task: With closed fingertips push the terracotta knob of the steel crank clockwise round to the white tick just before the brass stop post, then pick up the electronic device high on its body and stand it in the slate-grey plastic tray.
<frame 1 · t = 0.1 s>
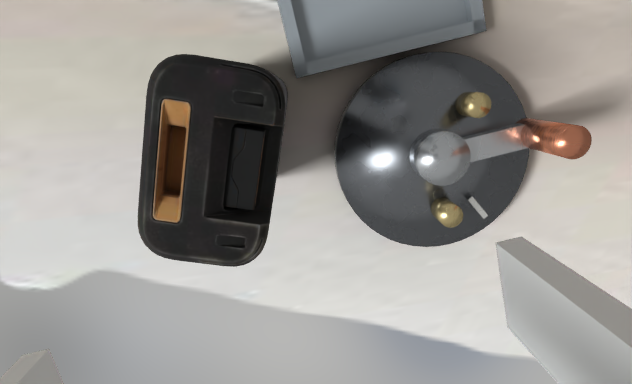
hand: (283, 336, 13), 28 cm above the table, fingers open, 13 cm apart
electronic device: (249, 126, 39), on the table
crank: (491, 150, 35), point 5 cm above the table, hinge at 90.0°
crank base: (428, 151, 41), on the table
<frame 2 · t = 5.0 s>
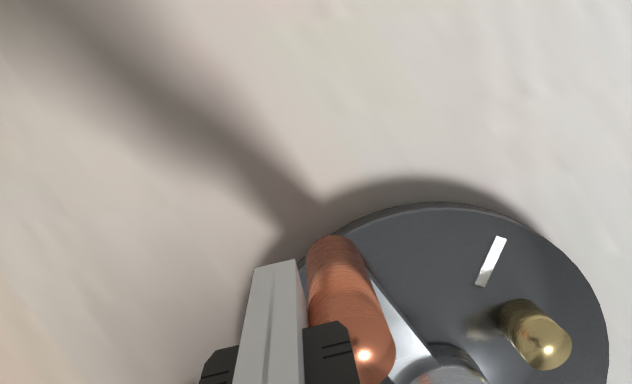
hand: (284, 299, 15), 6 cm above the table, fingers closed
crank: (412, 383, 17), point 5 cm above the table, hinge at 84.8°, touching gripper
crank base: (424, 363, 23), on the table
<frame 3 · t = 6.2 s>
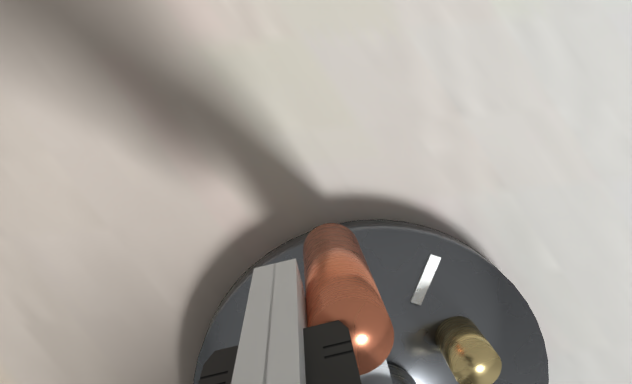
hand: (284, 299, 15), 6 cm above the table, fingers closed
crank base: (368, 380, 23), on the table
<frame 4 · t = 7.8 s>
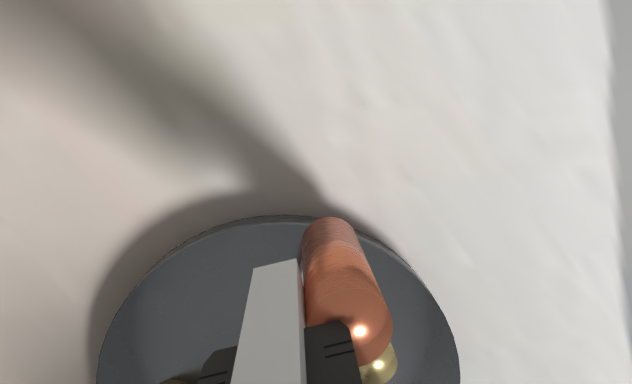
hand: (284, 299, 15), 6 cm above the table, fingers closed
crank base: (282, 377, 23), on the table
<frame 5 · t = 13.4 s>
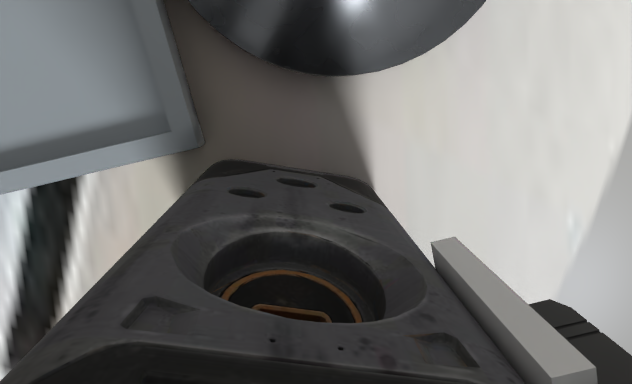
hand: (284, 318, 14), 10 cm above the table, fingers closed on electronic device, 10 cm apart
electronic device: (286, 220, 24), on the table, touching gripper
tray: (8, 10, 21), on the table
when the fingers open (12 cm above the table, at t = 21.4 s): electronic device stays where it is, resting on tray.
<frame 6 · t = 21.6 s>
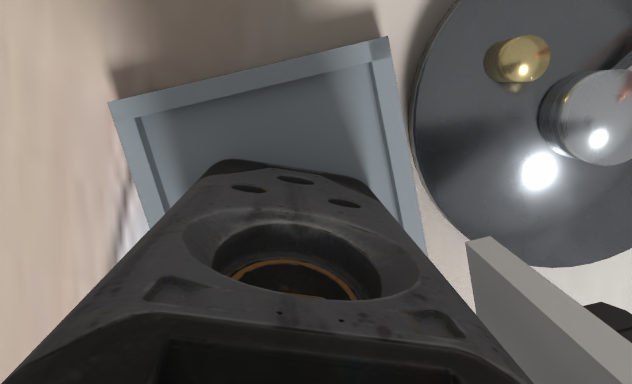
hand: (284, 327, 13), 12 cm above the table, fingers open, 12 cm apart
electronic device: (285, 217, 25), resting on tray
tray: (287, 213, 25), on the table
crank base: (560, 113, 25), on the table
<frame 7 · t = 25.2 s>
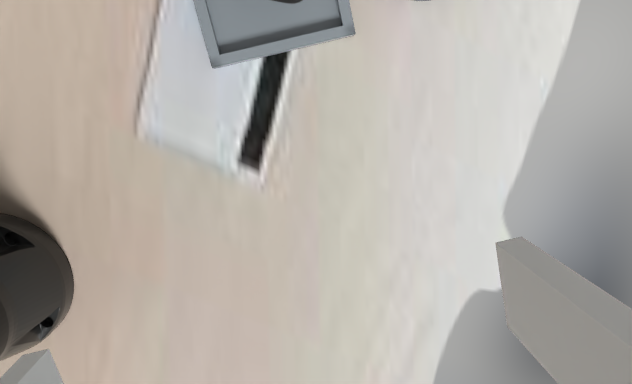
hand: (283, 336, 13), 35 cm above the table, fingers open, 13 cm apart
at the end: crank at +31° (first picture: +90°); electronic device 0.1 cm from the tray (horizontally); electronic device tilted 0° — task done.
